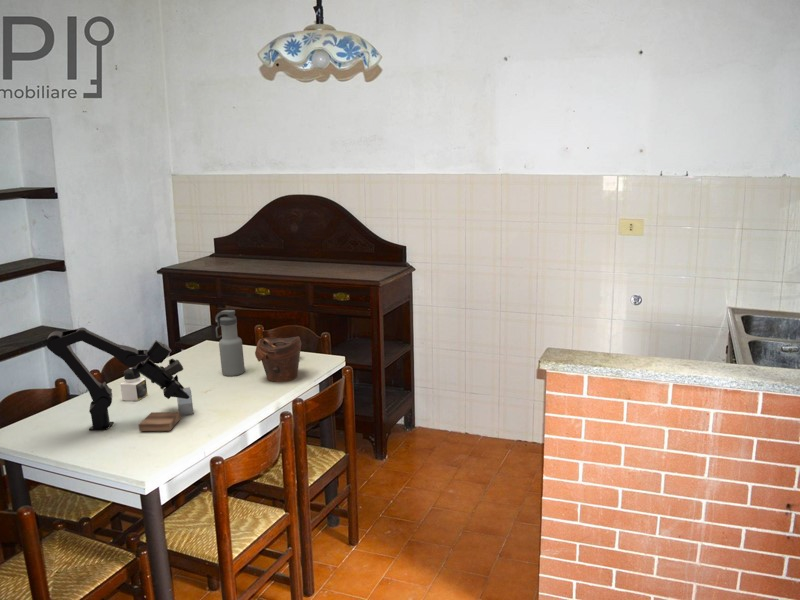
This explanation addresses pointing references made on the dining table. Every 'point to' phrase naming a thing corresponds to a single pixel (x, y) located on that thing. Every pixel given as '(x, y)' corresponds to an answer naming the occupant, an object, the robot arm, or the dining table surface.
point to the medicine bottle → (133, 386)
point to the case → (279, 357)
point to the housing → (185, 403)
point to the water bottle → (230, 344)
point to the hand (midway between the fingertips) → (188, 395)
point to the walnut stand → (160, 421)
